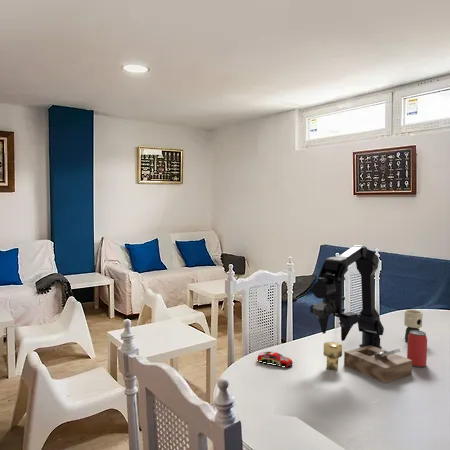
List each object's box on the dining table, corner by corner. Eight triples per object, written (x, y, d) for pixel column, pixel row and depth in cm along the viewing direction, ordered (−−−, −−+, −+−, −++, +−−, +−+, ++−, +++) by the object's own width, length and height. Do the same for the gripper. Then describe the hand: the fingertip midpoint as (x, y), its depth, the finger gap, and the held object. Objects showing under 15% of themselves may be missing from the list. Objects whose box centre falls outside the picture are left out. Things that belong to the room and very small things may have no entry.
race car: (294, 365, 158) (295, 354, 158) (289, 370, 153) (290, 359, 153) (261, 358, 164) (261, 348, 164) (255, 363, 159) (256, 352, 159)
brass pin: (319, 366, 155) (319, 343, 155) (332, 363, 159) (332, 340, 158) (332, 373, 150) (332, 349, 150) (345, 369, 153) (345, 346, 153)
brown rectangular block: (344, 364, 158) (344, 346, 157) (369, 357, 165) (370, 340, 164) (385, 383, 142) (385, 362, 142) (411, 374, 150) (412, 355, 149)
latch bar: (377, 358, 151) (375, 353, 152) (383, 356, 153) (381, 352, 154) (394, 353, 145) (392, 348, 146) (400, 351, 147) (398, 346, 147)
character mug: (417, 346, 179) (418, 315, 178) (399, 342, 183) (400, 312, 182) (424, 340, 187) (425, 310, 186) (407, 336, 191) (408, 307, 191)
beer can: (428, 368, 155) (429, 335, 154) (408, 366, 156) (410, 334, 156) (423, 361, 162) (424, 330, 161) (405, 360, 163) (406, 329, 162)
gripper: (299, 291, 157) (298, 333, 158) (337, 302, 141) (336, 348, 142) (321, 288, 162) (320, 328, 163) (361, 298, 147) (359, 343, 147)
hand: (333, 336), depth 154 cm, fingers open, 9 cm apart
